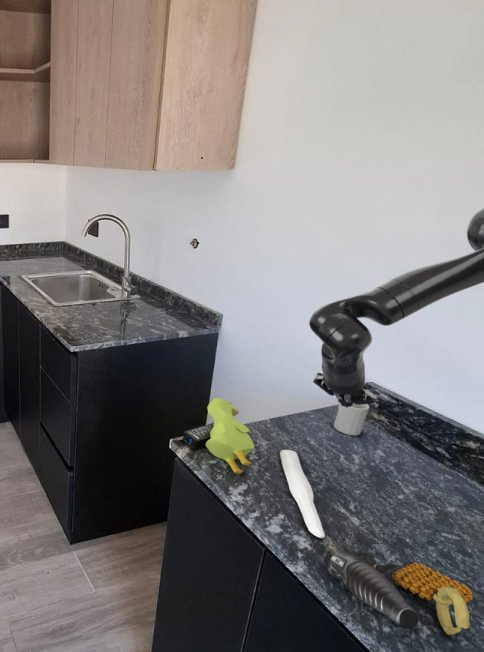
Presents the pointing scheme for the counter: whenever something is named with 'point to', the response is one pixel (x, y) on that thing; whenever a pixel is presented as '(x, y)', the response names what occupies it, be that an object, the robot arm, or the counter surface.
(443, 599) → the ornament
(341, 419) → the pot
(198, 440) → the multiport hub
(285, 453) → the white long flat piece
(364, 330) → the robot arm
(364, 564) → the ribbed torch
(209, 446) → the toy
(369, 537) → the counter surface
